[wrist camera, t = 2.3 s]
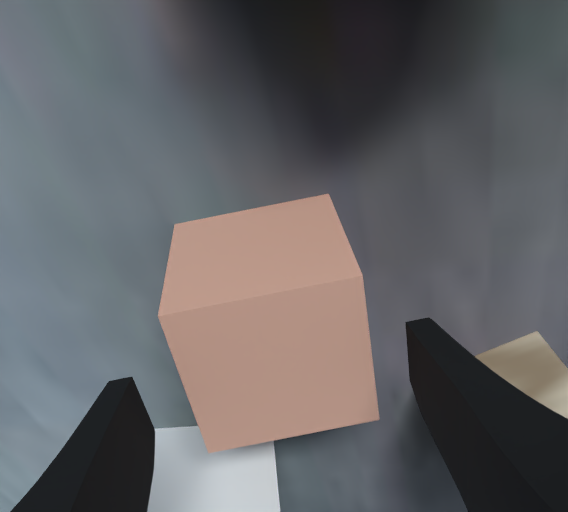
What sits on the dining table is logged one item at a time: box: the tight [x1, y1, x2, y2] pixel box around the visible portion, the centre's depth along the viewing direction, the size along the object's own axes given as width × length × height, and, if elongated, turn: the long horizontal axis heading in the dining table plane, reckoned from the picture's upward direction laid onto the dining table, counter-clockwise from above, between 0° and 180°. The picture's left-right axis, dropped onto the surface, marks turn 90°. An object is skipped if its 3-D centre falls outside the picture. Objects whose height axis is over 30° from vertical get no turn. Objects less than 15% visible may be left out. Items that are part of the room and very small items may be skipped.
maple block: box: [475, 331, 568, 419], centre depth 20 cm, size 5×5×5 cm
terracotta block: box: [158, 194, 379, 453], centre depth 16 cm, size 5×5×5 cm
